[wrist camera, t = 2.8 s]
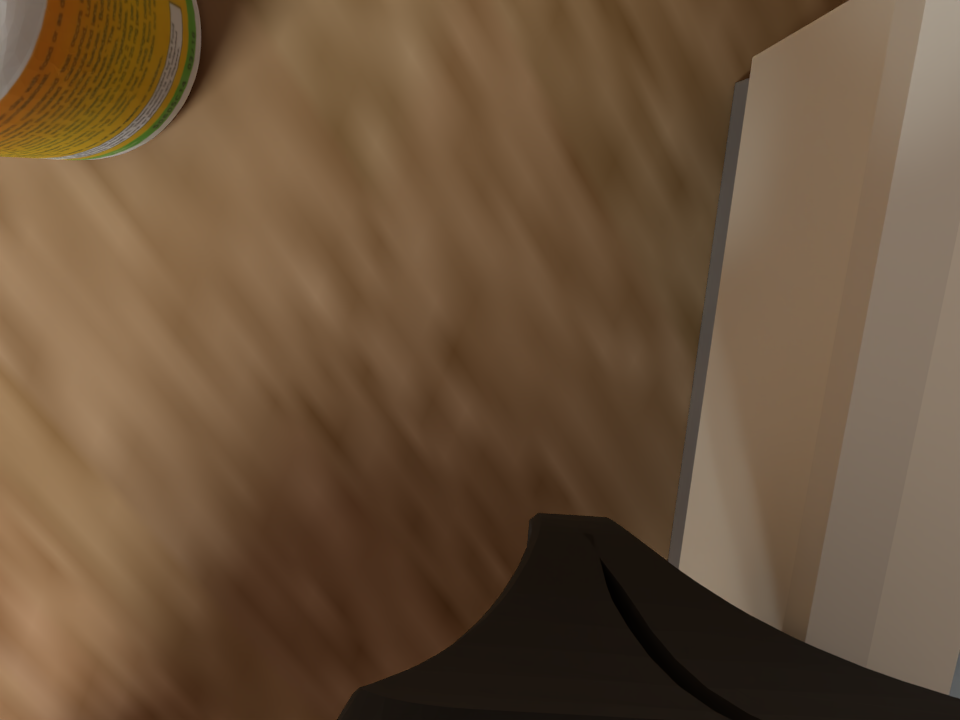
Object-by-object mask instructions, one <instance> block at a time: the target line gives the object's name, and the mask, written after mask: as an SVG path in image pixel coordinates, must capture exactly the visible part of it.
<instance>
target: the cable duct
mask: <svg viewBox="0 0 960 720" xmlns="http://www.w3.org/2000/svg"><path fill="white" fill-rule="evenodd" d="M749 79H750V78H748V79H745V80H742V81H740V82H737V83H735V89H734V96H733V103H732V110H731V117H730V125H729V132H728V139H727V146H726V153H725V160H724V167H723V174H722V181H721V188H720V195H719V203H718V210H717V217H716V224H715V231H714V238H713V245H712V252H711V259H710V266H709V273H708V281H707V288H706V295H705V302H704V309H703V316H702V323H701V330H700V337H699V344H698V352H697V359H696V366H695V373H694V380H693V387H692V394H691V401H690V408H689V415H688V422H687V430H686V437H685V444H684V451H683V458H682V465H681V472H680V479H679V486H678V493H677V500H676V508H675V515H674V522H673V529H672V536H671V543H670V550H669V557H668V562H669V563H671V564H672V565H673V566H675V567H676V568H678V569H679V563H680V556H681V549H682V542H683V535H684V528H685V521H686V514H687V507H688V500H689V493H690V487H691V480H692V473H693V466H694V459H695V452H696V445H697V438H698V431H699V424H700V417H701V411H702V404H703V397H704V390H705V383H706V376H707V369H708V362H709V355H710V348H711V341H712V335H713V328H714V321H715V314H716V307H717V300H718V293H719V286H720V279H721V272H722V265H723V258H724V252H725V245H726V238H727V231H728V224H729V217H730V210H731V203H732V196H733V189H734V182H735V176H736V169H737V162H738V155H739V148H740V141H741V134H742V127H743V120H744V113H745V106H746V100H747V93H748V86H749ZM949 696H953V697H956V698H959V699H960V651H959V655H958V659H957V663H956V668H955V672H954V676H953V680H952V684H951V688H950V693H949Z"/></svg>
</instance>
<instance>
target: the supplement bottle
mask: <svg viewBox="0 0 960 720" xmlns="http://www.w3.org/2000/svg"><path fill="white" fill-rule="evenodd" d="M200 51H201V23H200V15H199V9H198V5H197V0H0V156H1V157H25V158H42V159H59V160H92V159H102V158H107V157H112V156H116V155H120V154H123V153H126V152H129V151H131V150H133V149H135V148H137V147H139V146H141V145H143V144H145V143H147V142H148V141H150V140H151V139H153V138H154V137H155V136H157V135H158V134H159V133H160V132H161V131H162V130H163V129H164V128H165V127H166V126H167V125H168V124H169V123H170V122H171V121H172V120H173V118H174V117H175V116H176V115H177V113H178V112H179V110H180V109H181V108H182V106H183V105H184V103H185V101H186V99H187V97H188V96H189V93H190V91H191V88H192V86H193V83H194V81H195V78H196V74H197V71H198V66H199V61H200Z"/></svg>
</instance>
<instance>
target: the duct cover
mask: <svg viewBox="0 0 960 720" xmlns="http://www.w3.org/2000/svg"><path fill="white" fill-rule="evenodd" d="M679 570H680V571H682V572H683V573H685V574H686V575H687V576H689V577H690V578H692V579H693V580H695V581H696V582H698V583H699V584H701V585H702V586H704V587H705V588H707V589H708V590H710V591H712V592H713V593H715V594H716V595H718V596H719V597H721V598H723V599H724V600H726V601H727V602H729V603H730V604H732V605H734V606H735V607H737V608H739V609H741V610H742V611H744V612H746V613H748V614H749V615H751V616H753V617H755V618H757V619H759V620H761V621H763V622H765V623H767V624H769V625H771V626H772V627H774V628H776V629H778V630H780V631H782V632H784V633H786V634H788V635H790V636H792V637H794V638H796V639H798V640H801V641H803V642H805V643H807V644H809V645H812V646H814V647H816V648H818V649H821V650H823V651H826V652H828V653H831V654H833V655H836V656H838V657H840V658H843V659H845V660H848V661H850V662H853V663H855V664H857V665H860V666H862V667H865V668H868V669H871V670H873V671H876V672H879V673H882V674H885V675H887V676H890V677H893V678H896V679H899V680H901V681H905V682H908V683H911V684H914V685H917V686H921V687H924V688H927V689H930V690H933V691H937V692H940V693H943V694H946V695H949V693H950V688H951V684H952V680H953V676H954V672H955V668H956V663H957V659H958V655H959V651H960V0H849V1H847V2H845V3H844V4H842V5H840V6H838V7H837V8H835V9H833V10H832V11H830V12H828V13H827V14H825V15H823V16H822V17H820V18H818V19H816V20H815V21H813V22H811V23H810V24H808V25H806V26H805V27H803V28H801V29H800V30H798V31H796V32H794V33H793V34H791V35H789V36H788V37H786V38H784V39H783V40H781V41H779V42H778V43H776V44H774V45H772V46H771V47H769V48H767V49H766V50H764V51H762V52H761V53H759V54H757V55H756V56H754V57H753V58H752V65H751V72H750V79H749V86H748V93H747V100H746V106H745V113H744V120H743V127H742V134H741V141H740V148H739V155H738V162H737V169H736V176H735V182H734V189H733V196H732V203H731V210H730V217H729V224H728V231H727V238H726V245H725V252H724V258H723V265H722V272H721V279H720V286H719V293H718V300H717V307H716V314H715V321H714V328H713V335H712V341H711V348H710V355H709V362H708V369H707V376H706V383H705V390H704V397H703V404H702V411H701V417H700V424H699V431H698V438H697V445H696V452H695V459H694V466H693V473H692V480H691V487H690V493H689V500H688V507H687V514H686V521H685V528H684V535H683V542H682V549H681V556H680V563H679Z"/></svg>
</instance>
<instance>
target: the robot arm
mask: <svg viewBox="0 0 960 720" xmlns="http://www.w3.org/2000/svg"><path fill="white" fill-rule="evenodd" d="M337 720H960V699H959V698H956V697H953V696H949V695H946V694H943V693H940V692H937V691H933V690H930V689H927V688H924V687H921V686H917V685H914V684H911V683H908V682H905V681H901V680H899V679H896V678H893V677H890V676H887V675H885V674H882V673H879V672H876V671H873V670H871V669H868V668H865V667H862V666H860V665H857V664H855V663H853V662H850V661H848V660H845V659H843V658H840V657H838V656H836V655H833V654H831V653H828V652H826V651H823V650H821V649H818V648H816V647H814V646H812V645H809V644H807V643H805V642H803V641H801V640H798V639H796V638H794V637H792V636H790V635H788V634H786V633H784V632H782V631H780V630H778V629H776V628H774V627H772V626H771V625H769V624H767V623H765V622H763V621H761V620H759V619H757V618H755V617H753V616H751V615H749V614H748V613H746V612H744V611H742V610H741V609H739V608H737V607H735V606H734V605H732V604H730V603H729V602H727V601H726V600H724V599H723V598H721V597H719V596H718V595H716V594H715V593H713V592H712V591H710V590H708V589H707V588H705V587H704V586H702V585H701V584H699V583H698V582H696V581H695V580H693V579H692V578H690V577H689V576H687V575H686V574H685V573H683V572H682V571H680V570H679V569H678V568H676V567H675V566H673V565H672V564H671V563H669V562H668V561H667V560H665V559H664V558H662V557H661V556H660V555H658V554H657V553H656V552H655V551H653V550H652V549H651V548H649V547H648V546H647V545H645V544H644V543H643V542H641V541H640V540H639V539H637V538H636V537H635V536H633V535H632V534H631V533H630V532H628V531H627V530H625V529H624V528H623V527H621V526H620V525H619V524H617V523H616V522H614V521H612V520H611V519H609V518H607V517H593V516H577V515H560V514H544V513H538V514H536V515H535V516H534V517H533V518H531V519H530V520H529V531H528V542H527V548H526V551H525V553H524V555H523V557H522V559H521V562H520V564H519V566H518V568H517V570H516V571H515V573H514V575H513V576H512V578H511V579H510V581H509V583H508V584H507V586H506V587H505V589H504V591H503V592H502V593H501V595H500V596H499V598H498V599H497V600H496V601H495V603H494V604H493V605H492V606H491V608H490V609H489V610H488V611H487V612H486V613H485V615H484V616H483V617H482V618H481V619H480V620H479V621H478V622H477V623H476V624H475V625H474V626H473V627H472V628H471V629H470V630H468V631H467V632H466V633H465V634H464V635H463V636H462V637H461V638H460V639H459V640H457V641H456V642H455V643H454V644H453V645H451V646H450V647H448V648H447V649H445V650H444V651H442V652H441V653H439V654H437V655H436V656H434V657H432V658H430V659H428V660H427V661H425V662H423V663H421V664H419V665H417V666H415V667H413V668H411V669H409V670H406V671H404V672H401V673H399V674H396V675H393V676H391V677H388V678H386V679H383V680H380V681H378V682H375V683H373V684H370V685H366V686H363V687H360V688H359V689H357V690H356V691H355V692H354V693H353V695H352V696H351V698H350V699H349V701H348V702H347V704H346V706H345V707H344V709H343V711H342V712H341V714H340V716H339V717H338V719H337Z"/></svg>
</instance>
